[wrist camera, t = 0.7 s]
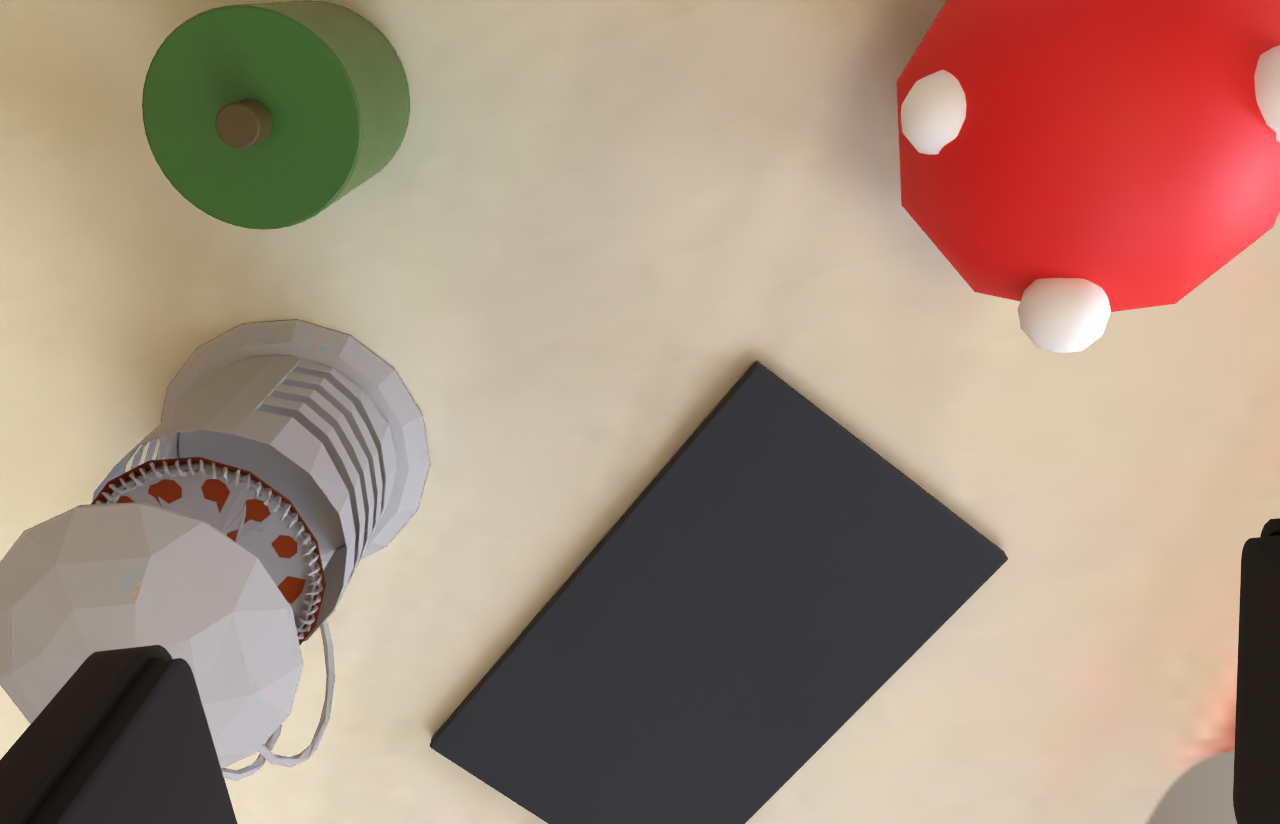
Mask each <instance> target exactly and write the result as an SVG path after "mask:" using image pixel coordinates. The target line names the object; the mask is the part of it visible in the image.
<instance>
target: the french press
mask: <svg viewBox="0 0 1280 824" xmlns="http://www.w3.org/2000/svg"><path fill="white" fill-rule="evenodd" d="M158 437H159V440H160V447H159V450H158V454H157V458H156V460H152V456H153V453H154V450H155V446H156V443H157V440H158ZM149 441H150V444H149V448H148V451H147V455H146V458H145V462H144V463H143V464H141V465H139V463H140V459H141V456H142V452H143V449H144V447H145V446H146V444H147V443H148V442H149ZM141 445H142V446H141ZM139 446H141V448H140V449H139V450H138V452H137V453H136V454H135V456H134V459H133V463H132V466H131V470H130V471H128V472H126V473H124V472H125V468H126V464H127V463H128V461H129V460H130V458H131V457H132V455H133V454H134V453H135V451H136V450H137V448H138V447H139ZM163 457H164V459H163ZM429 467H430V460H429V454H428V447H427V441H426V435H425V428H424V422H423V415H422V413H421V412H420V410H419V408H418V407H417V405H416V404H415V402H414V400H413V399H412V397H411V395H410V394H409V392H408V391H407V389H406V387H405V386H404V384H403V382H402V381H401V379H400V377H399V376H398V374H397V373H396V371H395V369H393V368H392V367H391V366H389V365H388V364H387V363H385V362H384V361H383V360H382V359H380V358H379V357H378V356H376V355H375V354H374V353H372V352H371V351H370V350H368V349H367V348H366V347H365V346H363V345H362V344H361V343H359V342H358V341H357V340H355V339H354V338H353V337H351V336H350V335H346V334H343V333H340V332H337V331H333V330H330V329H327V328H323V327H320V326H317V325H313V324H310V323H307V322H303V321H300V320H284V321H272V322H259V323H246V324H241V325H239V326H238V327H236V328H234V329H232V330H230V331H228V332H226V333H224V334H222V335H221V336H219V337H217V338H215V339H213V340H211V341H209V342H207V343H205V344H204V345H202V346H200V347H198V348H197V349H196V350H195V352H194V353H193V354H192V356H191V357H190V358H189V360H188V361H187V362H186V364H185V365H184V366H183V368H182V369H181V370H180V372H179V373H178V374H177V376H176V377H175V378H174V380H173V381H172V382H171V384H170V385H169V386H168V389H167V394H166V399H165V404H164V409H163V414H162V419H161V424H160V425H159V426H158V427H156V428H155V429H154V430H153V431H152V432H151V433H150V434H149V435H148V436H146V437H145V438H144V439H143V440H142V441H141V442H140V443H139V444H138V445H137V446H136V447H135V448H134V449H132V450H131V451H130V452H129V453H128V454H127V455H126V456H125V457H124V458H123V459H122V460H121V461H120V462H119V463H118V464H117V465H116V466H115V467H114V468H113V469H112V470H111V472H110V473H109V474H108V476H107V477H106V478H105V479H104V481H103V482H102V483H101V484H100V486H99V487H98V488H97V490H96V491H95V492H94V496H93V502H92V504H91V505H80V506H77V507H75V508H73V509H71V510H69V511H67V512H64V513H62V514H60V515H58V516H56V517H53V518H51V519H49V520H47V521H45V522H42V523H40V524H38V525H36V526H34V527H32V528H29V529H27V530H25V531H24V532H23V533H22V534H21V536H20V537H19V538H18V540H17V541H16V542H15V544H14V545H13V546H12V547H11V549H10V550H9V551H8V553H7V554H6V555H5V557H4V558H3V559H2V560H1V562H0V685H1V686H2V688H3V689H4V690H5V692H6V693H7V694H8V695H9V697H10V698H11V699H12V701H13V702H14V703H15V704H16V706H17V707H18V708H19V710H20V711H21V712H22V713H23V715H24V716H25V717H26V719H27V720H28V721H29V723H30V724H32V722H33V721H34V720H35V719H36V718H37V716H38V715H39V714H40V713H41V712H42V711H43V709H44V708H45V707H46V706H47V705H48V704H49V702H50V701H51V700H52V699H53V698H54V696H55V695H56V694H57V693H58V692H59V691H60V689H61V688H62V687H63V686H64V685H65V683H66V682H67V681H68V680H69V679H70V678H71V676H72V675H73V674H74V673H75V672H76V671H77V669H78V668H79V667H80V666H81V665H82V663H83V662H84V661H85V660H86V659H87V658H88V657H89V656H90V655H91V654H93V653H94V652H98V651H106V650H115V649H124V648H133V647H142V646H151V645H160V646H162V647H164V648H166V650H167V651H168V652H169V654H170V655H171V656H172V659H176V658H182V659H184V660H186V661H187V663H188V664H189V665H190V667H191V670H192V672H193V675H194V678H195V681H196V685H197V688H198V692H199V695H200V698H201V702H202V705H203V709H204V712H205V716H206V719H207V722H208V726H209V729H210V733H211V736H212V739H213V743H214V746H215V750H216V753H217V756H218V760H219V763H220V767H221V770H222V773H223V777H224V778H226V779H231V780H239V779H241V778H244V777H247V776H249V775H252V774H253V773H254V772H256V771H257V770H258V769H259V768H260V767H262V766H263V764H264V762H265V761H266V759H267V760H268V761H269V762H270V763H271V764H276V765H281V766H287V767H292V766H294V765H296V764H298V763H300V762H303V761H305V760H307V759H309V757H310V756H311V755H312V754H313V753H314V752H315V750H316V749H317V747H318V744H319V742H320V740H321V737H322V735H323V733H324V730H325V728H326V726H327V723H328V721H329V719H330V711H331V704H332V696H333V689H334V681H335V669H334V656H333V645H332V640H331V635H330V631H329V626H328V621H327V618H328V617H329V616H330V615H331V614H332V613H333V612H334V611H335V609H336V607H337V605H338V603H339V601H340V599H341V597H342V595H343V593H344V591H345V589H346V587H347V585H348V583H349V581H350V579H351V577H352V575H353V573H354V571H355V569H356V567H357V565H358V563H359V561H360V559H361V558H363V557H365V556H367V555H369V554H371V553H373V552H376V551H378V550H380V549H382V548H384V547H386V546H387V545H388V544H389V543H390V542H391V540H392V539H393V538H394V537H395V536H396V535H397V533H398V532H399V531H400V530H401V529H402V528H403V526H404V525H405V524H406V523H407V522H408V521H409V519H410V518H411V517H412V516H413V515H414V514H415V512H416V511H417V510H418V506H419V502H420V499H421V495H422V492H423V488H424V485H425V481H426V477H427V474H428V470H429ZM324 568H325V569H324ZM323 569H324V571H323ZM319 627H320V628H321V634H322V639H323V645H324V653H325V663H326V673H327V679H326V695H325V702H324V706H323V710H322V715H321V719H320V722H319V725H318V727H317V730H316V732H315V735H314V738H313V740H312V743H311V745H310V746H309V747H307V748H306V749H305V750H304V751H302V752H301V753H300V754H298V755H295V756H292V757H285V756H280V755H275V754H273V753H272V752H271V750H272V748H273V746H274V745H275V743H276V741H277V739H278V737H279V736H280V733H281V726H282V723H283V722H284V721H285V719H286V718H287V717H288V716H289V715H290V713H291V709H292V705H293V701H294V697H295V694H296V690H297V686H298V682H299V678H300V675H301V671H302V667H303V660H302V655H301V650H300V644H301V643H302V642H304V641H306V640H308V638H309V637H310V636H311V635H312V634H313V633H314V632H315V631H316V630H317V629H318V628H319ZM268 738H269V739H268ZM267 739H268V740H267ZM266 740H267V742H266V744H265V745H264V743H265V741H266ZM256 751H258V752H259V753H260V755H259V756H258V758H257V760H256V761H255V762H254V763H253V764H252V765H250V766H248V767H245V768H243V769H240V770H237V771H236V770H231V769H226V768H224V767H226V766H228V765H231V764H233V763H235V762H237V761H239V760H242V759H244V758H246V757H248V756H250V755H253V754H255V752H256Z"/></svg>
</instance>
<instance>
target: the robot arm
mask: <svg viewBox="0 0 1280 824" xmlns="http://www.w3.org/2000/svg"><path fill="white" fill-rule="evenodd" d="M1233 803H1234V811H1235V816H1236V820H1237V823H1238V824H1280V518H1279V519H1270V520H1269V521H1268V522H1267V523H1266V524H1265V525H1264V528H1263V530H1262V533H1261V537H1259V538H1250V539H1248V540H1247V541H1246V542H1245V545H1244V547H1243V551H1242V558H1241V587H1240V615H1239V644H1238V672H1237V701H1236V729H1235V759H1234V787H1233ZM0 824H237V821H236V818H235V814H234V811H233V808H232V804H231V801H230V797H229V794H228V790H227V787H226V784H225V780H224V777H223V773H222V770H221V767H220V763H219V760H218V756H217V753H216V750H215V746H214V743H213V739H212V736H211V733H210V729H209V726H208V722H207V719H206V716H205V712H204V709H203V705H202V702H201V698H200V695H199V692H198V688H197V685H196V681H195V678H194V675H193V672H192V670H191V667H190V665H189V664H188V663H187V661H186V660H184V659H182V658H176V659H172V656H171V655H170V654H169V652H168V651H167V650H166V648H164V647H162V646H160V645H151V646H142V647H133V648H124V649H115V650H106V651H98V652H94V653H93V654H91V655H90V656H89V657H88V658H87V659H86V660H85V661H84V662H83V663H82V665H81V666H80V667H79V668H78V669H77V671H76V672H75V673H74V674H73V675H72V676H71V678H70V679H69V680H68V681H67V682H66V683H65V685H64V686H63V687H62V688H61V689H60V691H59V692H58V693H57V694H56V695H55V696H54V698H53V699H52V700H51V701H50V702H49V704H48V705H47V706H46V707H45V708H44V709H43V711H42V712H41V713H40V714H39V715H38V716H37V718H36V719H35V720H34V721H33V722H32V724H31V725H30V726H29V727H28V728H27V729H26V731H25V732H24V733H23V734H22V735H21V737H20V738H19V739H18V740H17V741H16V742H15V744H14V745H13V746H12V747H11V748H10V749H9V751H8V752H7V753H6V754H5V755H4V757H3V758H2V759H1V760H0Z"/></svg>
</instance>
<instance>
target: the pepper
mask: <svg viewBox="0 0 1280 824" xmlns="http://www.w3.org/2000/svg"><path fill="white" fill-rule="evenodd" d="M142 109H143V121H144V126H145V132H146V136H147V139H148V142H149V145H150V148H151V151H152V153H153V155H154V157H155V159H156V162H157V163H158V165H159V167H160V168H161V170H162V171H163V173H164V175H165V176H166V177H167V179H168V180H169V181H170V182H171V184H172V185H173V186H174V187H175V188H176V189H177V190H178V191H179V192H180V194H181V195H182V196H183V197H184V198H186V199H187V200H188V201H189V202H191V203H192V204H193V205H194V206H196V207H197V208H199V209H200V210H202V211H203V212H205V213H207V214H208V215H210V216H212V217H214V218H216V219H219V220H221V221H223V222H226V223H229V224H232V225H235V226H240V227H245V228H251V229H278V228H283V227H288V226H292V225H295V224H298V223H301V222H304V221H306V220H308V219H310V218H312V217H314V216H315V215H317V214H318V213H320V212H321V211H323V210H324V209H325V208H327V207H328V206H330V205H331V204H333V203H334V202H336V201H337V200H338V199H340V198H341V197H343V196H344V195H346V194H347V193H349V192H350V191H351V190H353V189H354V188H356V187H357V186H359V185H360V184H362V183H363V182H364V181H366V180H367V179H369V178H370V177H372V176H373V175H375V174H376V173H377V172H379V171H380V170H381V169H382V168H383V167H384V166H385V165H386V164H387V163H388V162H389V161H390V160H391V158H392V157H393V156H394V154H395V153H396V151H397V150H398V148H399V146H400V144H401V142H402V140H403V137H404V135H405V132H406V128H407V125H408V119H409V112H410V97H409V88H408V83H407V79H406V75H405V72H404V69H403V67H402V64H401V62H400V60H399V58H398V56H397V54H396V52H395V50H394V49H393V47H392V46H391V45H390V43H389V42H388V40H387V39H386V38H385V37H384V36H383V34H382V33H381V32H380V31H379V30H378V29H377V28H376V27H374V26H373V25H372V24H371V23H370V22H369V21H367V20H366V19H364V18H363V17H361V16H360V15H358V14H357V13H355V12H353V11H351V10H349V9H347V8H344V7H341V6H338V5H336V4H331V3H327V2H321V1H297V2H281V3H265V4H248V5H232V6H224V7H219V8H214V9H210V10H208V11H205V12H202V13H199V14H197V15H196V16H194V17H192V18H190V19H188V20H186V21H185V22H184V23H182V24H181V25H180V26H178V27H177V28H176V29H175V30H174V31H173V32H172V33H171V34H170V35H169V36H168V37H167V38H166V39H165V40H164V42H163V43H162V44H161V46H160V47H159V49H158V50H157V52H156V54H155V56H154V58H153V59H152V61H151V64H150V66H149V69H148V72H147V75H146V79H145V84H144V89H143V101H142Z"/></svg>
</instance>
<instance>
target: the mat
mask: <svg viewBox="0 0 1280 824" xmlns="http://www.w3.org/2000/svg"><path fill="white" fill-rule="evenodd" d="M1007 559H1008V558H1007V556H1006V555H1005V553H1004V551H1002V550H1001V549H1000V548H998V547H997V546H996V545H994V544H993V543H992V542H991V541H989V540H988V539H987V538H985V537H984V536H983V535H982V534H980V533H979V532H978V531H976V530H975V529H974V528H972V527H971V526H970V525H969V524H967V523H966V522H965V521H963V520H962V519H961V518H960V517H958V516H957V515H956V514H954V513H953V512H952V511H951V510H949V509H948V508H947V507H945V506H944V505H943V504H941V503H940V502H939V501H938V500H936V499H935V498H934V497H932V496H931V495H930V494H929V493H927V492H926V491H925V490H923V489H922V488H921V487H920V486H918V485H917V484H916V483H914V482H913V481H912V480H910V479H909V478H908V477H907V476H905V475H904V474H903V473H901V472H900V471H899V470H898V469H896V468H895V467H894V466H892V465H891V464H890V463H888V462H887V461H886V460H885V459H883V458H882V457H881V456H879V455H878V454H877V453H876V452H874V451H873V450H872V449H870V448H869V447H868V446H867V445H865V444H864V443H863V442H861V441H860V440H859V439H857V438H856V437H855V436H854V435H852V434H851V433H850V432H848V431H847V430H846V429H845V428H843V427H842V426H841V425H839V424H838V423H837V422H836V421H834V420H833V419H832V418H830V417H829V416H828V415H826V414H825V413H824V412H823V411H821V410H820V409H819V408H817V407H816V406H815V405H814V404H812V403H811V402H810V401H808V400H807V399H806V398H804V397H803V396H802V395H801V394H799V393H798V392H797V391H795V390H794V389H793V388H792V387H790V386H789V385H788V384H786V383H785V382H784V381H783V380H781V379H780V378H779V377H777V376H776V375H775V374H773V373H772V372H771V371H770V370H768V369H767V368H766V367H764V366H763V365H762V364H761V363H759V362H758V361H756V362H755V363H754V364H753V365H752V366H751V367H750V369H749V370H748V371H747V372H746V373H745V374H744V376H743V377H742V378H741V379H740V380H739V381H738V383H737V384H736V385H735V386H734V387H733V388H732V390H731V391H730V392H729V393H728V394H727V395H726V397H725V398H724V399H723V400H722V401H721V402H720V404H719V405H718V406H717V407H716V408H715V409H714V410H713V412H712V413H711V414H710V415H709V416H708V417H707V419H706V420H705V421H704V422H703V423H702V424H701V426H700V427H699V428H698V429H697V430H696V431H695V433H694V434H693V435H692V436H691V437H690V438H689V440H688V441H687V442H686V443H685V444H684V445H683V447H682V448H681V449H680V450H679V451H678V452H677V454H676V455H675V456H674V457H673V458H672V459H671V461H670V462H669V463H668V464H667V465H666V466H665V467H664V469H663V470H662V471H661V472H660V473H659V474H658V476H657V477H656V478H655V479H654V480H653V481H652V483H651V484H650V485H649V486H648V487H647V488H646V490H645V491H644V492H643V493H642V494H641V495H640V497H639V498H638V499H637V500H636V501H635V502H634V504H633V505H632V506H631V507H630V508H629V509H628V511H627V512H626V513H625V514H624V515H623V516H622V518H621V519H620V520H619V521H618V522H617V523H616V524H615V526H614V527H613V528H612V529H611V530H610V531H609V533H608V534H607V535H606V536H605V537H604V538H603V540H602V541H601V542H600V543H599V544H598V545H597V547H596V548H595V549H594V550H593V551H592V552H591V554H590V555H589V556H588V557H587V558H586V559H585V561H584V562H583V563H582V564H581V565H580V566H579V568H578V569H577V570H576V571H575V572H574V573H573V574H572V576H571V577H570V578H569V579H568V580H567V581H566V583H565V584H564V585H563V586H562V587H561V588H560V590H559V591H558V592H557V593H556V594H555V595H554V597H553V598H552V599H551V600H550V601H549V602H548V604H547V605H546V606H545V607H544V608H543V609H542V611H541V612H540V613H539V614H538V615H537V616H536V618H535V619H534V620H533V621H532V622H531V623H530V625H529V626H528V627H527V628H526V629H525V630H524V631H523V633H522V634H521V635H520V636H519V637H518V638H517V640H516V641H515V642H514V643H513V644H512V645H511V647H510V648H509V649H508V650H507V651H506V652H505V654H504V655H503V656H502V657H501V658H500V659H499V661H498V662H497V663H496V664H495V665H494V666H493V668H492V669H491V670H490V671H489V672H488V673H487V675H486V676H485V677H484V678H483V679H482V680H481V682H480V683H479V684H478V685H477V686H476V687H475V688H474V690H473V691H472V692H471V693H470V694H469V695H468V697H467V698H466V699H465V700H464V701H463V702H462V704H461V705H460V706H459V707H458V708H457V709H456V711H455V712H454V713H453V714H452V715H451V716H450V718H449V719H448V720H447V721H446V722H445V723H444V725H443V726H442V727H441V728H440V729H439V730H438V732H437V733H436V734H435V735H434V736H433V737H432V740H431V743H430V747H431V748H432V749H434V750H435V751H437V752H438V753H440V754H441V755H443V756H445V757H446V758H448V759H449V760H451V761H452V762H454V763H455V764H457V765H458V766H460V767H462V768H463V769H465V770H466V771H468V772H469V773H471V774H472V775H474V776H476V777H477V778H479V779H480V780H482V781H483V782H485V783H486V784H488V785H489V786H491V787H493V788H494V789H496V790H497V791H499V792H500V793H502V794H503V795H505V796H507V797H508V798H510V799H511V800H513V801H514V802H516V803H517V804H519V805H520V806H522V807H524V808H525V809H527V810H528V811H530V812H531V813H533V814H534V815H536V816H538V817H539V818H541V819H542V820H544V821H545V822H547V823H548V824H745V823H746V822H747V821H748V820H749V819H750V818H751V817H752V816H753V815H754V814H755V813H756V812H757V811H758V810H759V809H760V808H761V807H762V806H763V805H764V804H765V803H766V802H767V801H768V800H769V799H770V798H771V797H772V796H773V795H774V794H775V793H776V792H777V791H778V790H779V789H780V788H781V787H782V786H783V785H784V784H785V783H786V782H787V781H788V780H789V779H790V778H791V777H792V776H793V775H794V774H795V773H796V772H797V771H798V770H799V769H800V768H801V767H802V766H803V765H804V764H805V763H806V762H807V761H808V760H809V759H810V758H811V757H812V756H813V755H814V754H815V753H816V752H817V751H818V750H819V749H820V748H821V747H822V746H823V745H824V744H825V743H826V742H827V741H828V740H829V739H830V738H831V737H832V736H833V735H834V734H835V733H836V732H837V731H838V730H839V729H840V728H841V727H842V726H843V725H844V724H845V723H846V722H847V721H848V719H849V718H850V717H851V716H852V715H853V714H854V713H855V712H856V711H857V710H858V709H859V708H860V707H861V706H862V705H863V704H864V703H865V702H866V701H867V700H868V699H869V698H870V697H871V696H872V695H873V694H874V693H875V692H876V691H877V690H878V689H879V688H880V687H881V686H882V685H883V684H884V683H885V682H886V681H887V680H888V679H889V678H890V677H891V676H892V675H893V674H894V673H895V672H896V671H897V670H898V669H899V668H900V667H901V666H902V665H903V664H904V663H905V662H906V661H907V660H908V659H909V658H910V657H911V656H912V655H913V654H914V653H915V652H916V651H917V650H918V649H919V648H920V647H921V646H922V645H923V644H924V643H925V642H926V641H927V640H928V639H929V638H930V637H931V636H932V635H933V634H934V633H935V632H936V631H937V630H938V629H939V628H940V627H941V626H942V625H943V624H944V623H945V622H946V621H947V620H948V619H949V618H950V617H951V616H952V615H953V614H954V613H955V612H956V611H957V610H958V609H959V608H960V607H961V606H962V605H963V604H964V603H965V602H966V601H967V600H968V599H969V598H970V597H971V596H972V595H973V594H974V593H975V592H976V591H977V590H978V589H979V588H980V587H981V586H982V585H983V584H984V583H985V582H986V581H987V580H988V579H989V578H990V577H991V576H992V575H993V574H994V573H995V572H996V571H997V570H998V569H999V568H1000V567H1001V566H1002V565H1003V564H1004V563H1005V562H1006V561H1007Z"/></svg>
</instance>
